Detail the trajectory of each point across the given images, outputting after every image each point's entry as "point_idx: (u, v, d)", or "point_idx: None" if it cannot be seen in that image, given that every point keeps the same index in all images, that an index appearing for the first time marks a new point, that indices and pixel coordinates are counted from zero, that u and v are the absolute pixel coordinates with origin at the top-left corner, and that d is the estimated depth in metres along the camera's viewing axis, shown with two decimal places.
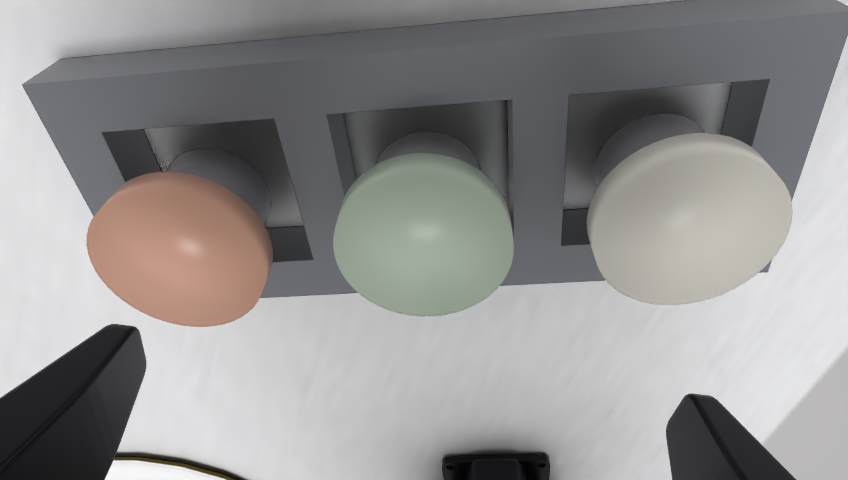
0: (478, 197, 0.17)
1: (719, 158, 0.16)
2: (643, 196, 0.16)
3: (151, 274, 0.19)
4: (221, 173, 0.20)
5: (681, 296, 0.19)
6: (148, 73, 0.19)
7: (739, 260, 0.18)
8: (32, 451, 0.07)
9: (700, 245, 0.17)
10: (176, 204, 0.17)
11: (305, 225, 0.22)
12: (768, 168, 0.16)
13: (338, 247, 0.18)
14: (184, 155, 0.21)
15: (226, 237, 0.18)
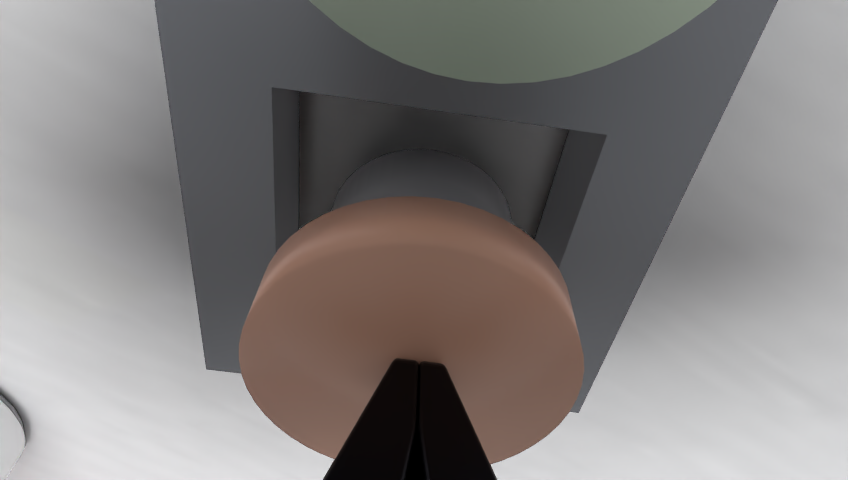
0: None
1: None
2: None
3: None
4: None
5: None
6: (188, 236, 0.13)
7: None
8: None
9: None
10: (267, 326, 0.09)
11: (517, 119, 0.11)
12: None
13: (437, 57, 0.06)
14: None
15: (357, 282, 0.08)
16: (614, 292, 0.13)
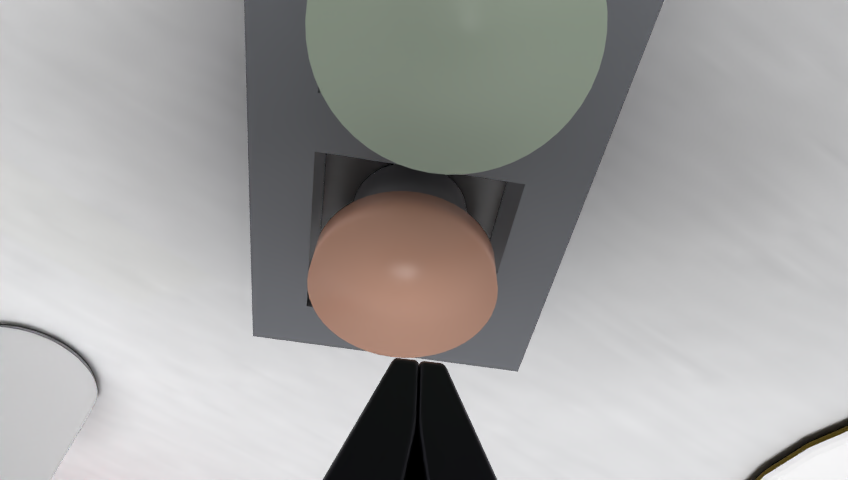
0: None
1: None
2: None
3: (408, 318, 0.18)
4: None
5: None
6: (251, 242, 0.19)
7: None
8: None
9: None
10: (325, 260, 0.16)
11: None
12: None
13: (415, 162, 0.12)
14: None
15: (375, 235, 0.16)
16: (537, 285, 0.19)
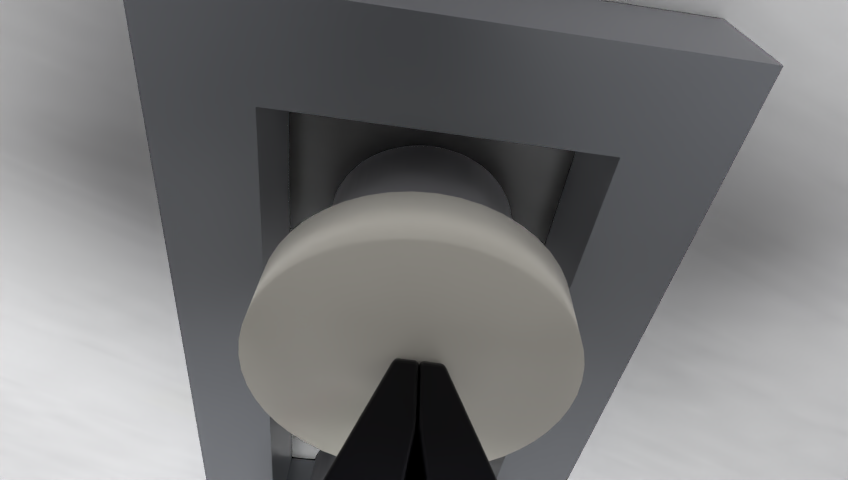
0: None
1: (247, 343, 0.09)
2: (314, 421, 0.10)
3: None
4: None
5: (558, 387, 0.10)
6: None
7: (491, 311, 0.09)
8: None
9: None
10: None
11: None
12: (271, 283, 0.08)
13: None
14: None
15: None
16: None
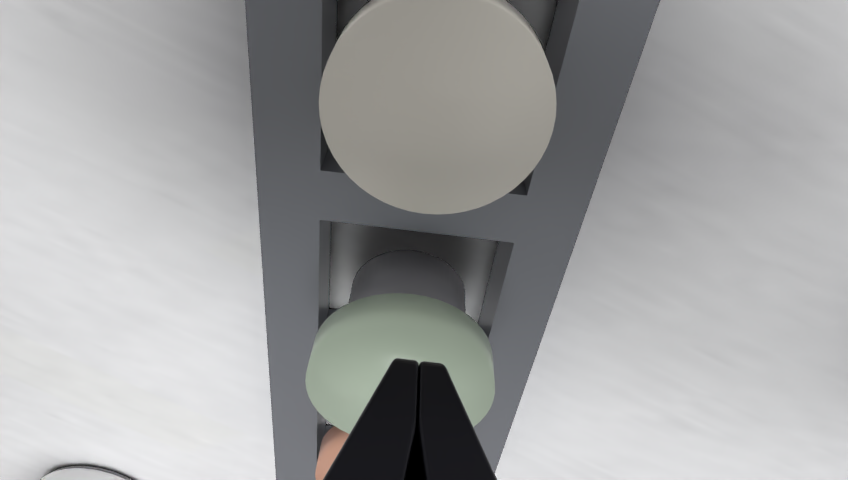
0: (338, 342, 0.16)
1: (326, 90, 0.13)
2: (367, 165, 0.15)
3: None
4: None
5: (539, 124, 0.14)
6: (273, 432, 0.25)
7: (491, 54, 0.13)
8: None
9: (453, 104, 0.13)
10: (327, 463, 0.23)
11: None
12: (346, 33, 0.13)
13: None
14: None
15: None
16: (489, 456, 0.26)
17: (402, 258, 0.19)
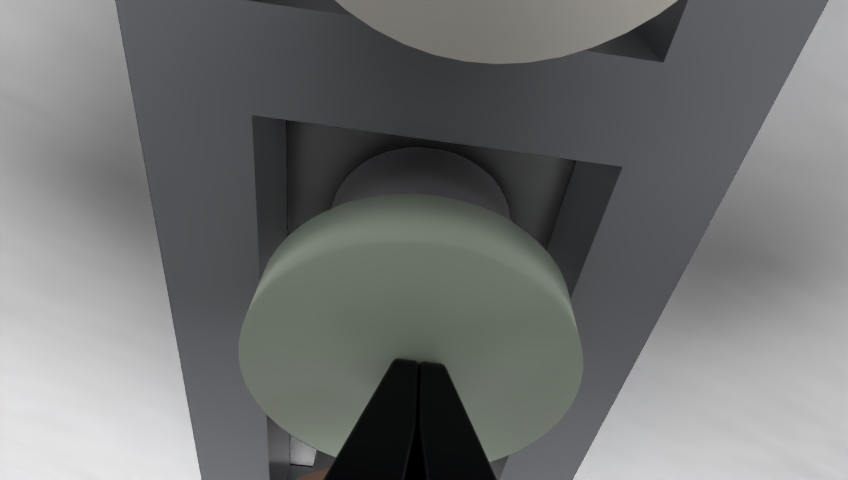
0: (294, 281, 0.08)
1: None
2: None
3: None
4: None
5: None
6: None
7: None
8: None
9: None
10: None
11: None
12: None
13: None
14: None
15: None
16: None
17: (413, 157, 0.11)
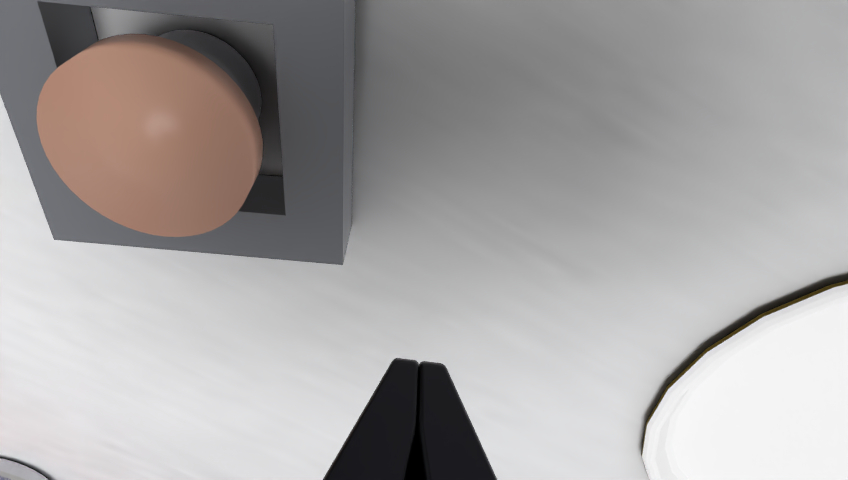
0: None
1: None
2: None
3: (165, 185, 0.16)
4: None
5: None
6: (12, 122, 0.17)
7: None
8: None
9: None
10: (50, 115, 0.15)
11: (208, 16, 0.15)
12: None
13: None
14: None
15: (90, 78, 0.14)
16: (328, 153, 0.18)
17: None
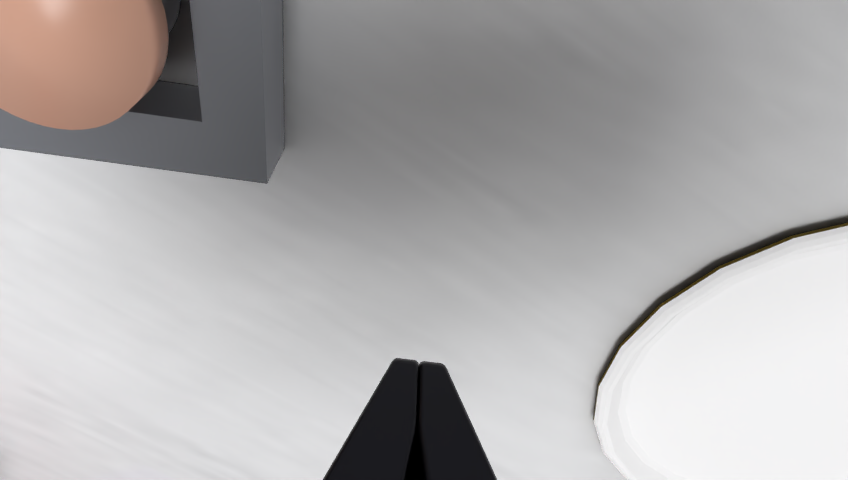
0: None
1: None
2: None
3: (53, 65, 0.14)
4: None
5: None
6: None
7: None
8: None
9: None
10: None
11: None
12: None
13: None
14: None
15: None
16: (245, 48, 0.16)
17: None
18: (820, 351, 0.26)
